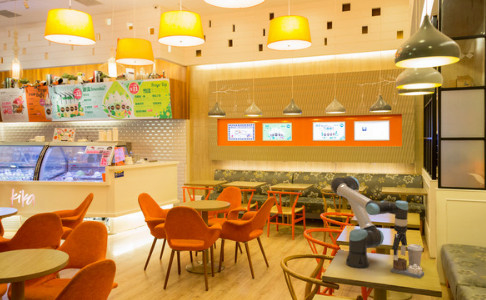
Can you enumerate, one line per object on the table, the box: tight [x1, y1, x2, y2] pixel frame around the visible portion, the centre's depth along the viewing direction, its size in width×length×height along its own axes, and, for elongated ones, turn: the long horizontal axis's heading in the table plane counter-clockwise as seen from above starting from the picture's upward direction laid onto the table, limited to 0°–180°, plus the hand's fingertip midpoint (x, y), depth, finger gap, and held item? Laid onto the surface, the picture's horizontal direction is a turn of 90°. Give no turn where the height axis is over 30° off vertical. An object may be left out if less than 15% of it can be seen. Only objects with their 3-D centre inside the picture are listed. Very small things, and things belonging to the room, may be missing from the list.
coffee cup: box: [406, 243, 423, 268], centre depth 263 cm, size 10×10×15 cm
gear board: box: [390, 264, 425, 279], centre depth 252 cm, size 18×9×7 cm, turn 49°
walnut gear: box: [392, 257, 408, 271], centre depth 255 cm, size 8×8×6 cm
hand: (399, 257), depth 255 cm, fingers open, 13 cm apart
